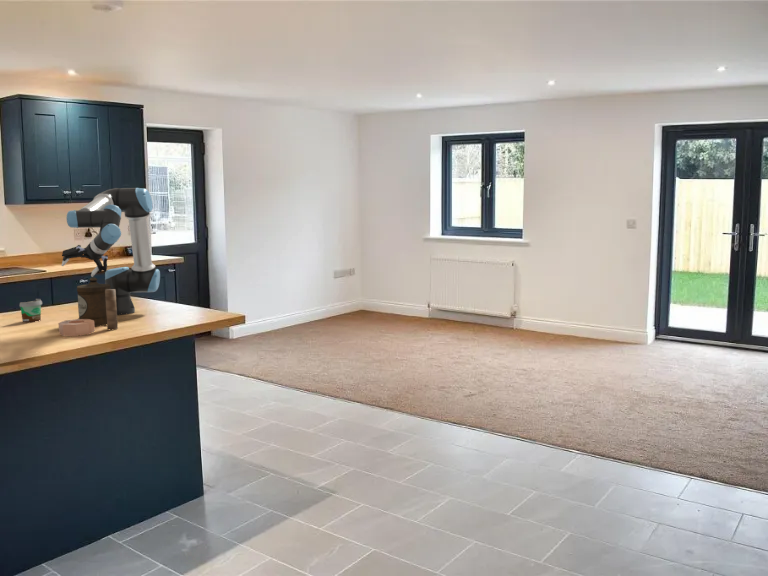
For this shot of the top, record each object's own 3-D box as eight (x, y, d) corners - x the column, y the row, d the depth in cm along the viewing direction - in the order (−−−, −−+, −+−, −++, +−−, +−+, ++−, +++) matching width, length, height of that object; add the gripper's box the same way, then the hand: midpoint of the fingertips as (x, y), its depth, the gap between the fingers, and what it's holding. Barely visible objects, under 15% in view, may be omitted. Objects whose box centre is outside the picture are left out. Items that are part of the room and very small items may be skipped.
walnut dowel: (115, 327, 327) (113, 288, 324) (119, 328, 323) (117, 289, 321) (105, 328, 324) (103, 289, 321) (109, 330, 320) (107, 290, 318)
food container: (32, 323, 337) (30, 302, 336) (20, 323, 339) (19, 302, 337) (49, 319, 349) (47, 298, 348) (38, 318, 351) (36, 298, 349)
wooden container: (79, 321, 342) (76, 276, 338) (112, 319, 347) (110, 275, 344) (78, 327, 328) (75, 280, 325) (113, 325, 333) (110, 278, 330)
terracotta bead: (86, 328, 324) (86, 317, 324) (98, 332, 314) (97, 321, 314) (56, 332, 315) (55, 321, 314) (67, 337, 305) (66, 325, 305)
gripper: (68, 243, 303) (48, 265, 316) (123, 264, 318) (102, 285, 330) (71, 229, 307) (51, 252, 320) (126, 250, 322) (105, 271, 334)
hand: (77, 268), depth 325 cm, fingers open, 13 cm apart
